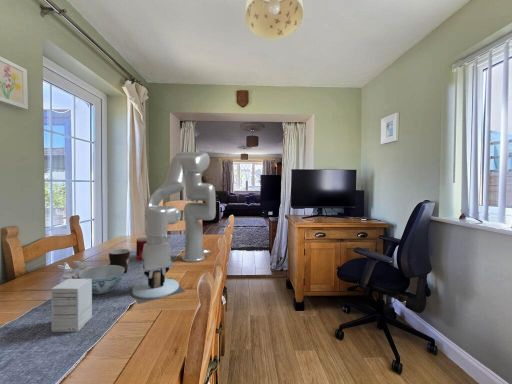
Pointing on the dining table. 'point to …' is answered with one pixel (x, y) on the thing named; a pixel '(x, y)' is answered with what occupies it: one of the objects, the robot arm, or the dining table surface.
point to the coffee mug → (120, 258)
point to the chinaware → (103, 277)
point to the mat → (154, 299)
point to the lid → (155, 287)
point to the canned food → (140, 247)
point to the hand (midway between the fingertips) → (156, 285)
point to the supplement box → (71, 305)
